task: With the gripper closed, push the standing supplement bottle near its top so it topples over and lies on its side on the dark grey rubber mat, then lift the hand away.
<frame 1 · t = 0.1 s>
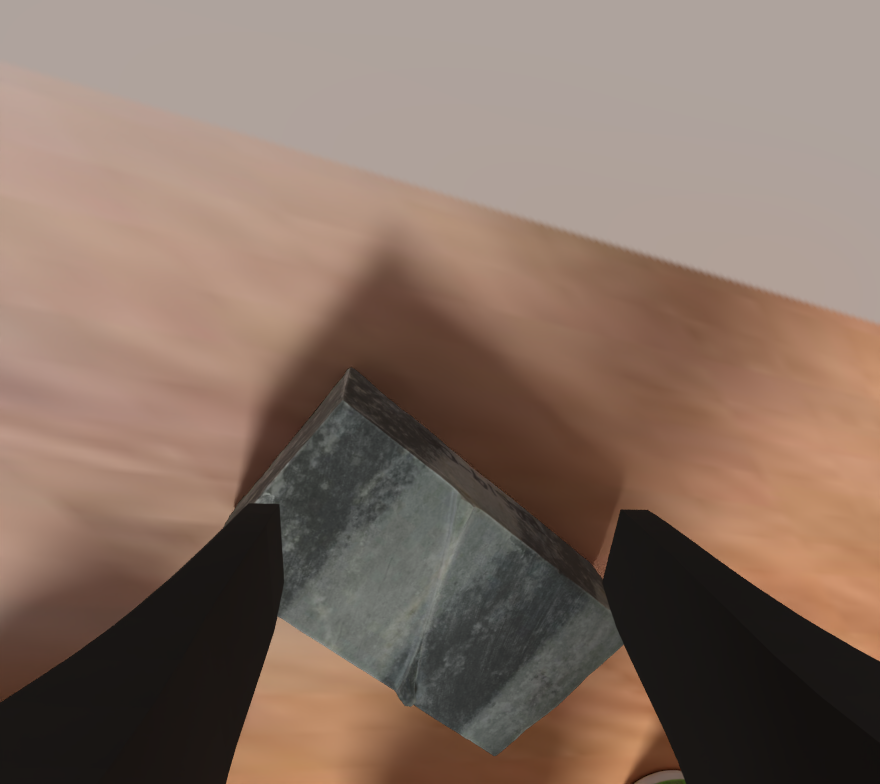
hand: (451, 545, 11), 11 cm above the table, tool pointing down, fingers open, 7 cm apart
stone block: (414, 538, 23), on the table
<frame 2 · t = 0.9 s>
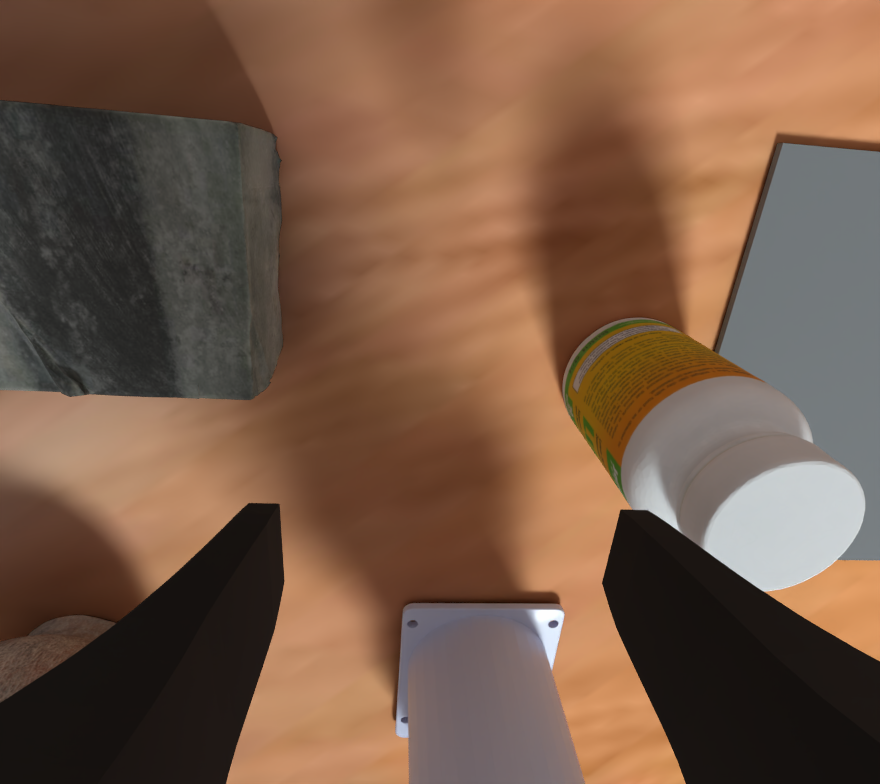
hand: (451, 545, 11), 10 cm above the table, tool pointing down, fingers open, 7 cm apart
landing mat: (859, 389, 22), on the table
supplement bottle: (622, 376, 21), on the table
stone block: (81, 253, 18), on the table
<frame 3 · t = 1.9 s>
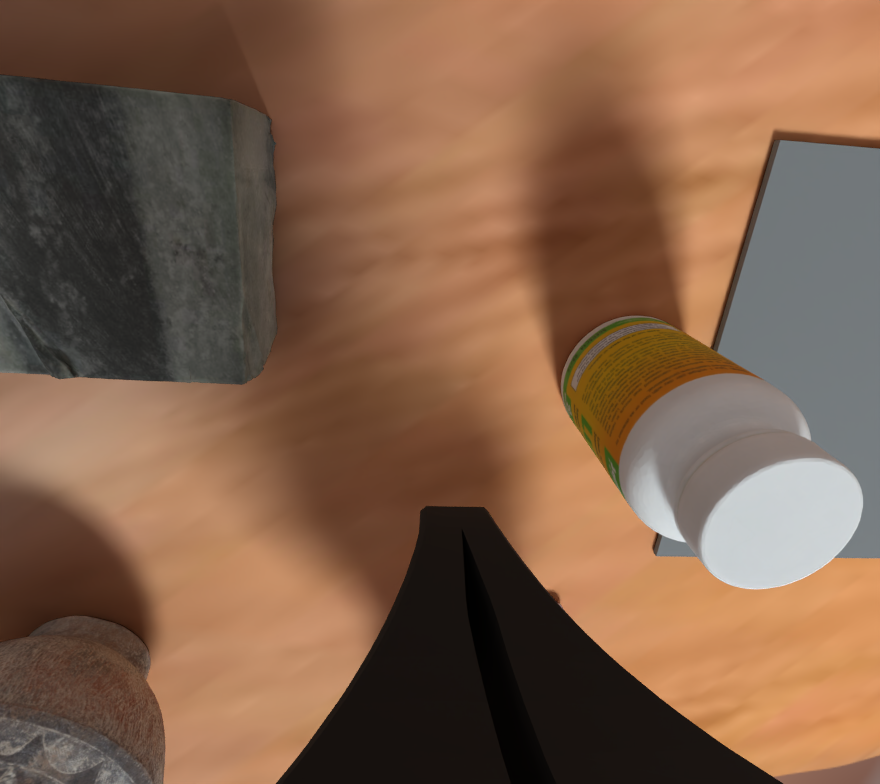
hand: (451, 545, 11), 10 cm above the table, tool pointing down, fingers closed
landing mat: (859, 386, 22), on the table
supplement bottle: (620, 374, 21), on the table
stone block: (73, 237, 18), on the table
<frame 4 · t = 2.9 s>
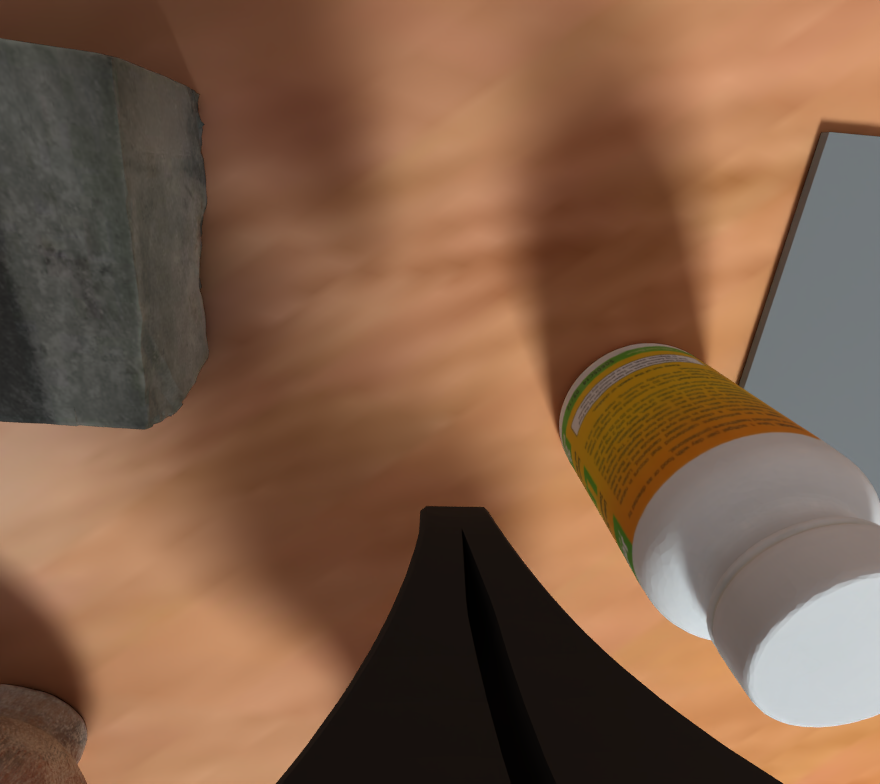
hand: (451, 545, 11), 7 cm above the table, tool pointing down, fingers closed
supplement bottle: (630, 410, 18), on the table
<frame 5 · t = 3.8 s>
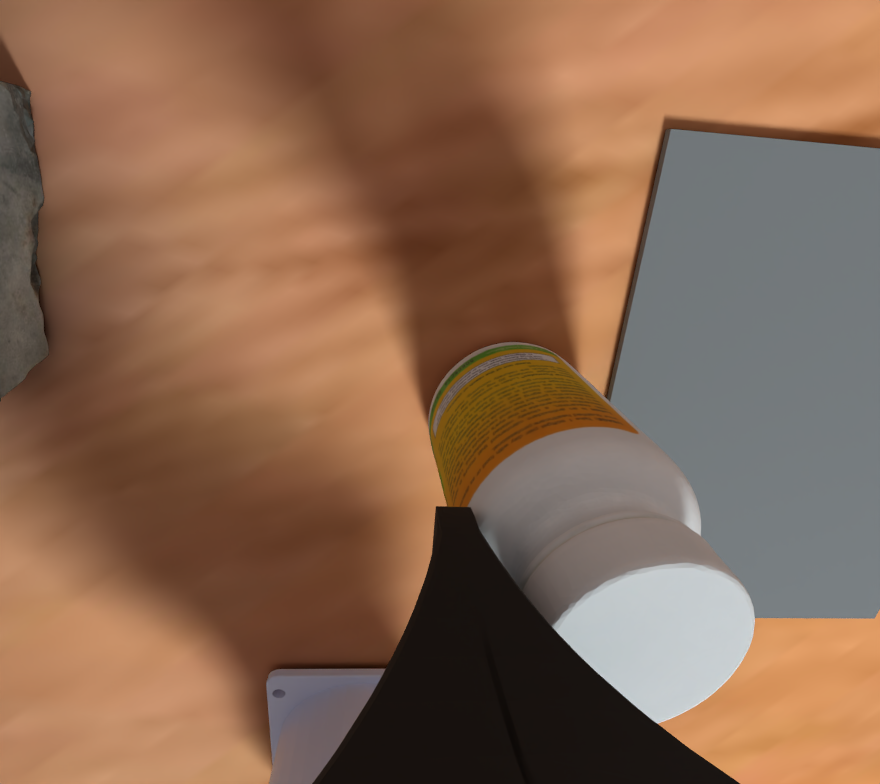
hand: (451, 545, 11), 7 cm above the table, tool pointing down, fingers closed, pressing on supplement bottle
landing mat: (789, 424, 19), on the table
supplement bottle: (503, 411, 18), on the table, touching gripper
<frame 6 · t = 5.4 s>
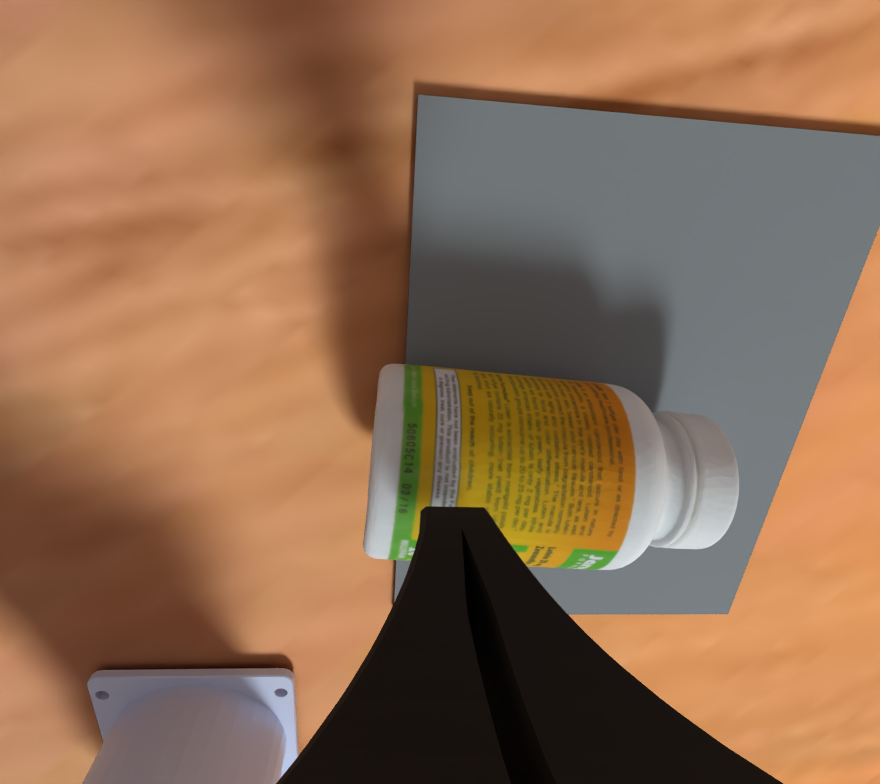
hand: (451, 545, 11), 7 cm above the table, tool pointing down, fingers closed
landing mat: (607, 412, 18), on the table
supplement bottle: (363, 457, 14), point 3 cm above the table, touching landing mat
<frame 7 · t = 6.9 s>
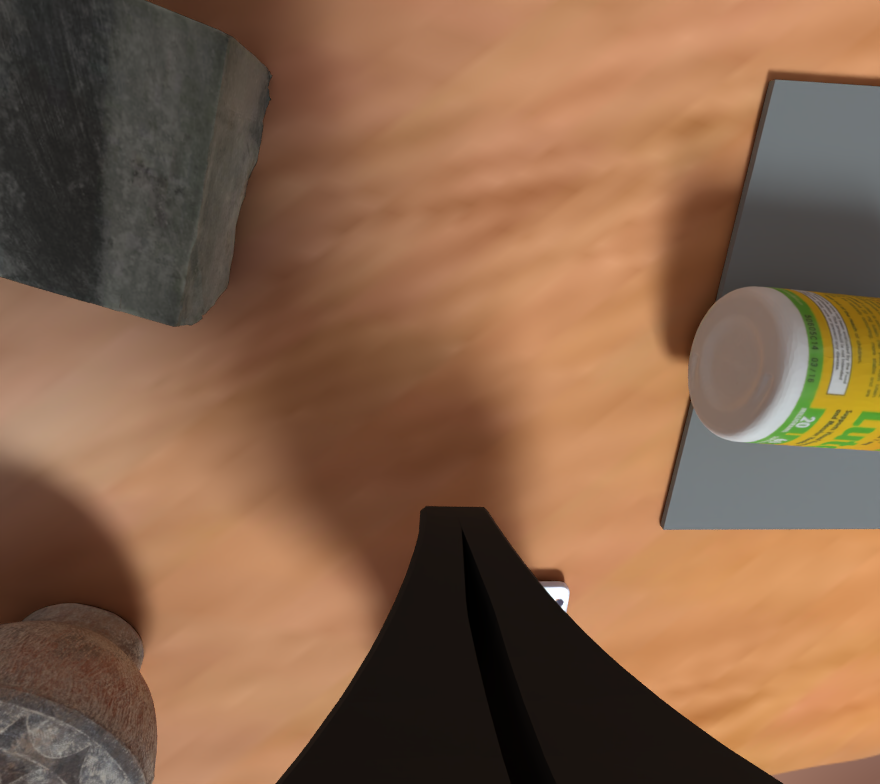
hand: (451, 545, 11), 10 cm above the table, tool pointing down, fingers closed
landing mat: (869, 343, 21), on the table
supplement bottle: (721, 363, 18), point 3 cm above the table, touching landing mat
stone block: (34, 137, 17), on the table
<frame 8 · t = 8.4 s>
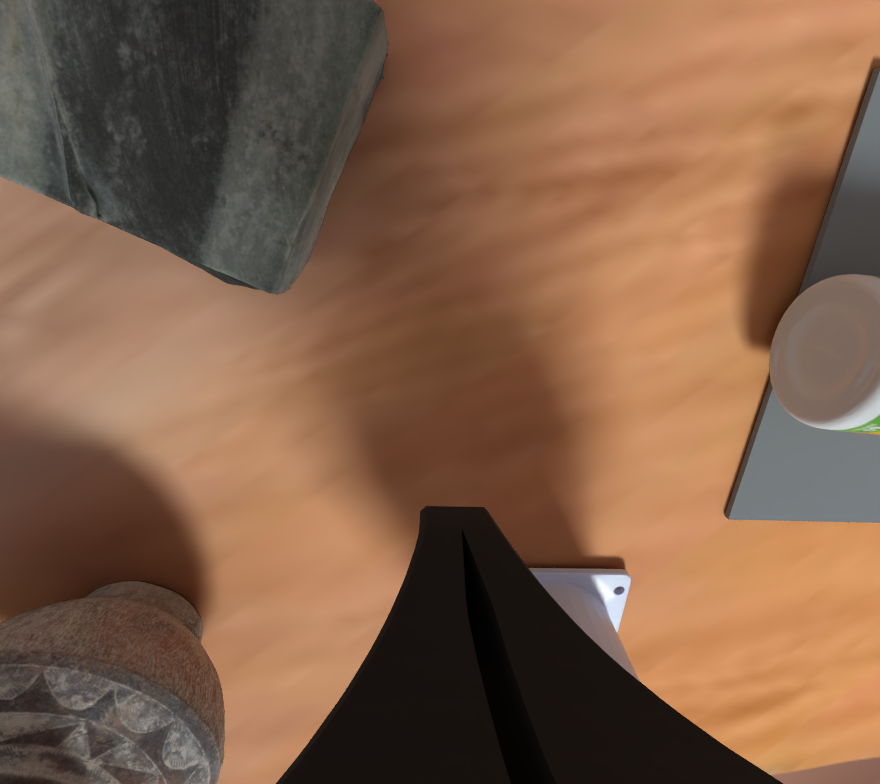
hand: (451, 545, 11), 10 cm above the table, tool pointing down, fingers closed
supplement bottle: (815, 350, 18), point 3 cm above the table, touching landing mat
stone block: (132, 84, 17), on the table
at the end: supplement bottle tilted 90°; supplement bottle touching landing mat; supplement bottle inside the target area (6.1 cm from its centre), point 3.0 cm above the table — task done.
